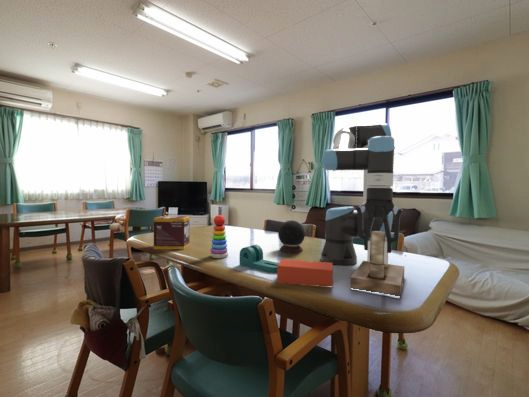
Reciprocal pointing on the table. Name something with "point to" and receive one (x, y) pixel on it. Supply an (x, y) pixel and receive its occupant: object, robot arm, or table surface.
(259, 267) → the bracket
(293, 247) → the black ball on stand
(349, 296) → the table surface
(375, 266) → the beech leg
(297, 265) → the brick
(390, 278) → the walnut board
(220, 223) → the stacking toy
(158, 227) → the supplement box
